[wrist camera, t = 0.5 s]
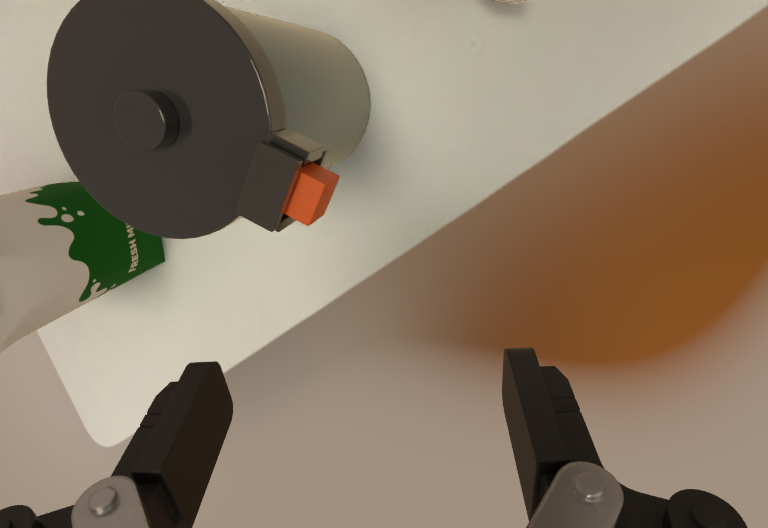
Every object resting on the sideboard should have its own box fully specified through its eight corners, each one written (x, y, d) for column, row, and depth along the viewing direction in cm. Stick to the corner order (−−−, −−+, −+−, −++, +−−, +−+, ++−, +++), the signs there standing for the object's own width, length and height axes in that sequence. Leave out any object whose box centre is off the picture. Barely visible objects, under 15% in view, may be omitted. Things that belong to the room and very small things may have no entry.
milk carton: (175, 271, 45) (-50, 402, 27) (90, 263, 47) (-176, 380, 29) (161, 174, 42) (-105, 247, 24) (70, 169, 44) (-242, 234, 25)
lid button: (297, 201, 23) (279, 211, 21) (312, 161, 22) (295, 169, 20) (323, 215, 23) (308, 226, 21) (340, 175, 22) (325, 184, 20)
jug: (193, 120, 40) (-43, 150, 23) (231, -20, 35) (-25, -113, 18) (358, 205, 39) (244, 303, 22) (417, 74, 35) (333, 68, 18)
